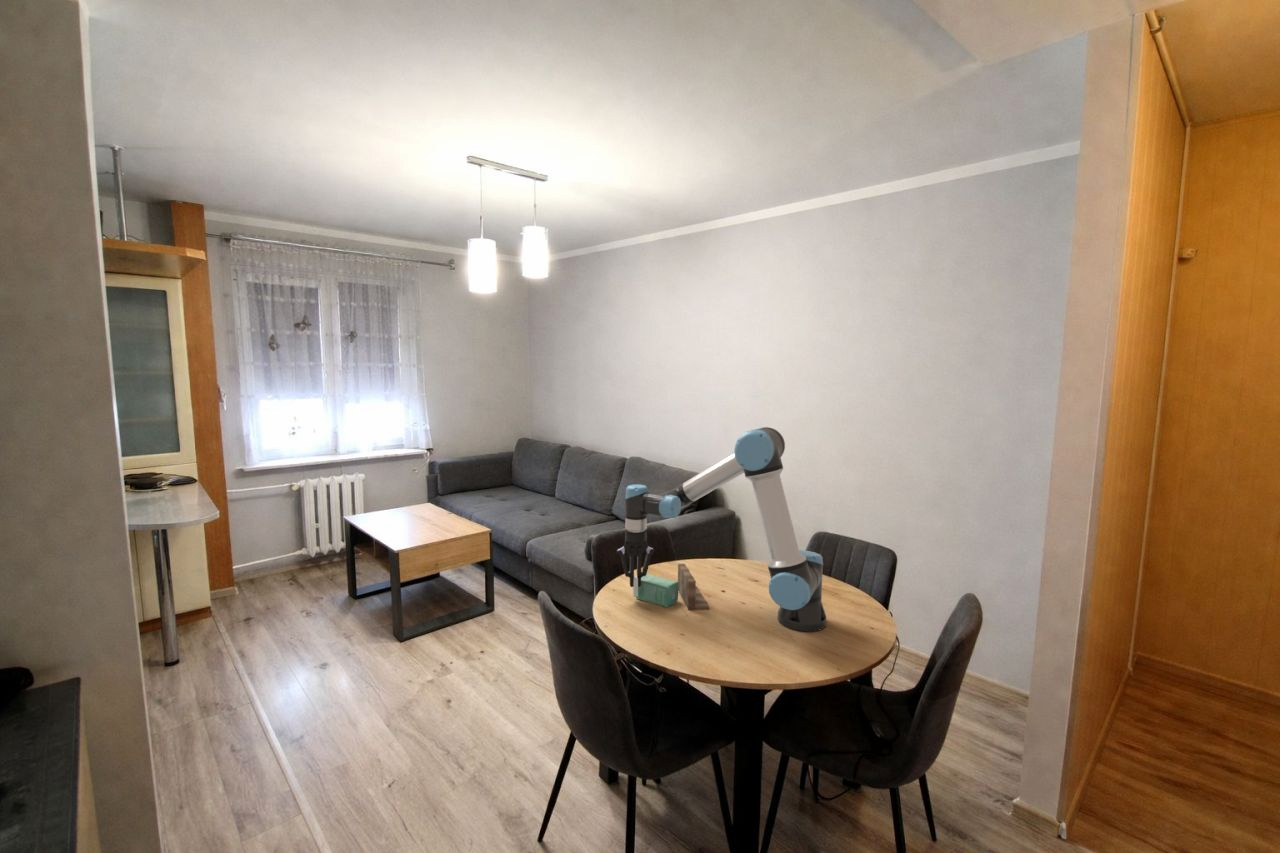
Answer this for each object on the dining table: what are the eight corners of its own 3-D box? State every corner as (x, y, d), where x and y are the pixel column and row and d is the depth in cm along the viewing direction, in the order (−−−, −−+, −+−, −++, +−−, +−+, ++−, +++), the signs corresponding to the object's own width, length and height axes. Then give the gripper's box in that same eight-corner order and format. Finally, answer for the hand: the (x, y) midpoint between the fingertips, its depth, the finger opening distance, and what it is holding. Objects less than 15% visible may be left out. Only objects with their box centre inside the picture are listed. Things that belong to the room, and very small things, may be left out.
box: (668, 608, 189) (668, 586, 188) (635, 599, 196) (635, 578, 196) (678, 601, 195) (679, 580, 194) (646, 593, 202) (647, 573, 202)
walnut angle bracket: (708, 609, 188) (709, 580, 188) (688, 610, 188) (688, 581, 187) (696, 589, 206) (697, 563, 205) (677, 590, 205) (678, 563, 204)
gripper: (652, 526, 196) (651, 590, 198) (616, 527, 195) (615, 592, 197) (656, 531, 189) (655, 598, 191) (618, 532, 187) (617, 600, 189)
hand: (635, 595), depth 194 cm, fingers closed
